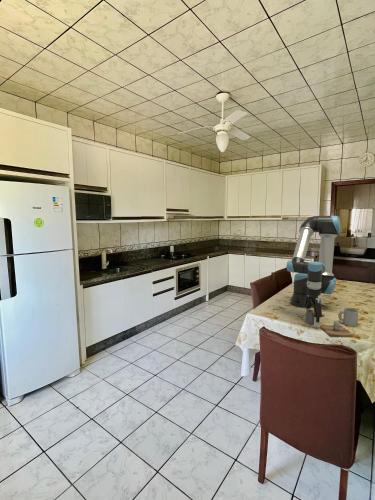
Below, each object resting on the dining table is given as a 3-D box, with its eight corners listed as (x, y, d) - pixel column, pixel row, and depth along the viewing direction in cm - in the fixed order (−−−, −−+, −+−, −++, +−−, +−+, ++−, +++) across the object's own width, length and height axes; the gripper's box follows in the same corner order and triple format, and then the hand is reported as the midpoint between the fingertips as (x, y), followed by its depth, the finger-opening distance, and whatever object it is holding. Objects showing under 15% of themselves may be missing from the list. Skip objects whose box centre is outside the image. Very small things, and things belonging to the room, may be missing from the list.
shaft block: (319, 327, 150) (320, 317, 149) (341, 327, 150) (341, 317, 149) (330, 336, 138) (331, 325, 138) (353, 337, 138) (354, 326, 137)
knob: (303, 320, 160) (304, 308, 159) (315, 320, 160) (316, 308, 159) (308, 325, 153) (309, 313, 152) (320, 325, 153) (321, 313, 152)
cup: (357, 328, 149) (358, 313, 148) (337, 324, 154) (338, 310, 153) (357, 323, 155) (358, 309, 154) (338, 320, 160) (338, 306, 159)
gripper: (299, 282, 165) (298, 315, 168) (316, 293, 142) (314, 331, 145) (311, 282, 165) (309, 315, 168) (330, 293, 141) (328, 331, 144)
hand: (311, 322), depth 156 cm, fingers open, 12 cm apart
